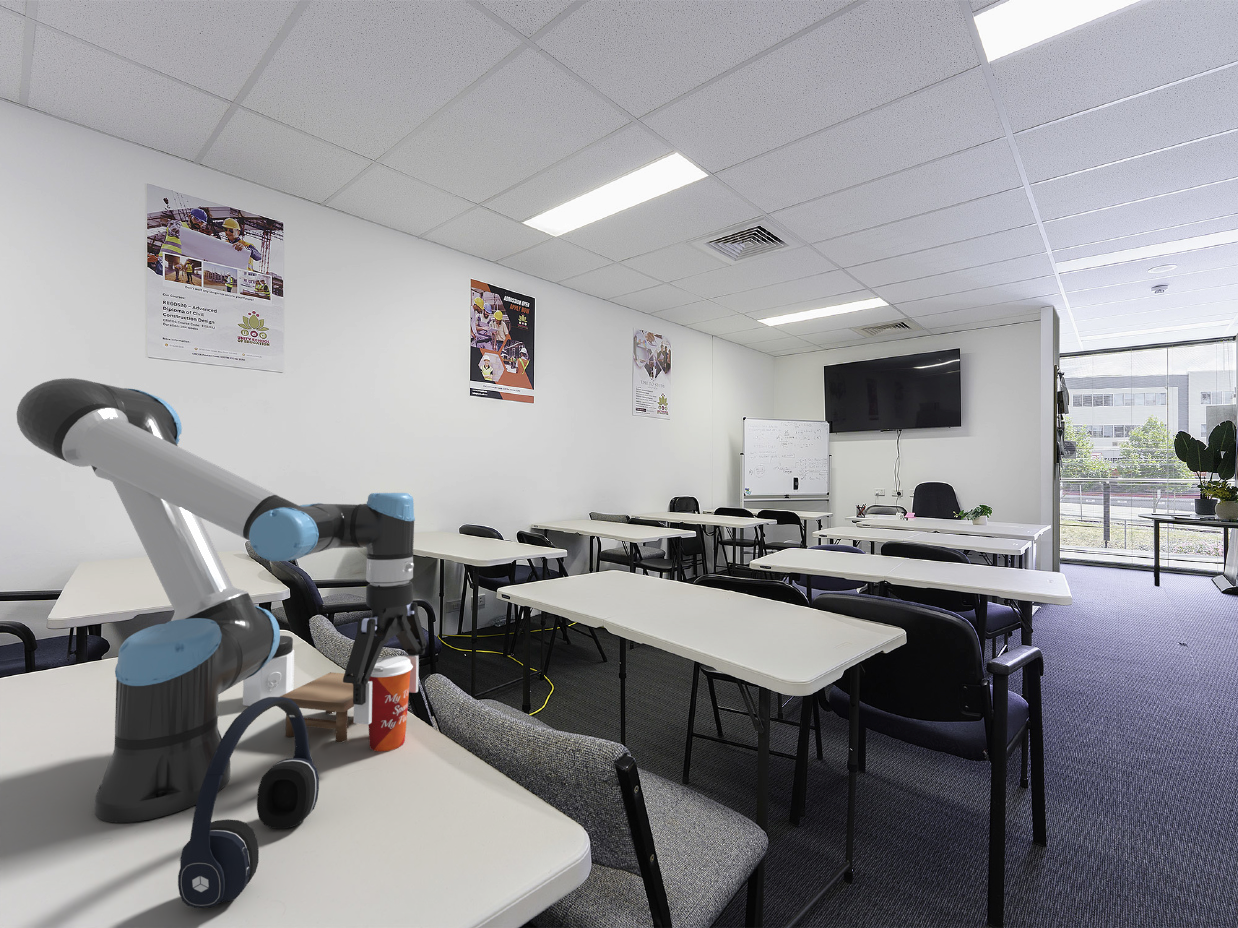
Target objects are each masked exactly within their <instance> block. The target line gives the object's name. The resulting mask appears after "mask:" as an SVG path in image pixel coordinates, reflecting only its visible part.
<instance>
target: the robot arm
mask: <svg viewBox="0 0 1238 928" xmlns="http://www.w3.org/2000/svg"><path fill="white" fill-rule="evenodd" d="M16 423H17V425H18V428H19V431H20V432H21V434H22V435H23V436H24V437H25V439H27V440H28V441H29V442H30V443H31V444H32V445H34V446H35V447H37V448H38V449H40V450H42V451H44V452H45V453H48V454H49V455H52V456H54V457H55V458H58V459H61V460H62V461H64V462H66V463H68V464H71V465H73V466H75V467H82V468H83V467H91V468H92V470H93V473H94V474H95V476H96V477H98V478H101V479H103V480H107V481H110V482H111V483H112V484H113V486H114V489H115V491H116V493H117V494H118V497H119V499H120V501H121V504H122V505H123V507H124V509H125V511H126V513H127V516H128V517H129V519H130V522H131V524H132V525H133V527H134V528H133V529H134V530H135V532H136V534H137V536H138V538H139V540H140V542H141V544H142V546H143V549H144V550H145V553H146V555H147V557H148V560H150V563H151V564H152V565H151V566H152V568H153V569H154V571H155V573H156V576H157V577H158V580H159V581H160V584H161V586H162V588H163V590H164V592H165V594H166V596H167V598H168V601H169V603H170V604H171V607H172V609H173V611H174V613H173V615H172V617H171V620H169V621H167V622H166V623H158V624H154V625H152V626H151V625H150V626H148V627H146V628H143V629H141V630H139V631H136V632H134V633H133V634H131V635H130V636H128V637H127V638H126V639H125V640H124V641H123V643H122V644H121V645H120V647H119V649H118V655H117V663H116V666H115V669H114V672H115V673H114V674H115V679H116V681H115V682H116V683H115V685H116V686H115V688H116V689H115V715H114V716H115V717H114V718H115V719H114V749H113V752H112V754H111V757H110V760H109V762H108V765H107V767H106V769H105V773H104V776H103V778H102V781H101V783H100V785H99V787H98V788H97V791H96V793H95V798H94V799H95V804H94V814H95V815H96V817H97V818H98V819H99V820H101V821H105V822H108V823H116V824H117V823H118V824H119V823H123V824H125V823H134V822H135V823H136V822H141V821H142V822H143V821H149V820H153V819H154V820H155V819H157V818H158V819H159V818H162V817H165V816H169V815H172V814H175V813H178V812H181V811H183V810H185V809H189V808H192V807H194V806H196V803H197V800H198V796H199V793H200V789H201V786H202V783H203V781H204V778H205V775H206V772H207V769H208V767H209V764H210V762H211V760H212V757H213V755H214V753H215V751H216V749H217V747H218V745H219V743H220V741H221V740H222V738H223V737H222V736H221V733H220V730H219V726H218V723H219V721H218V720H219V719H218V718H219V717H218V716H219V715H218V714H219V695H220V694H223V693H224V692H225V691H227V690H229V689H230V688H232V687H234V686H235V685H238V684H239V683H240V682H243V680H245V679H247V678H249V677H251V676H253V675H255V674H256V673H257V672H258V671H259V670H260V669H261V668H263V667H264V666H265V665H266V664H267V663H268V662H269V661H270V660H271V659H272V658H273V656H274V655H275V653H276V650H277V648H278V646H279V641H280V636H281V631H280V625H279V623H278V621H277V619H276V617H275V616H274V615H273V613H272V612H271V611H270V610H268V609H265V608H262V607H260V606H257V605H255V603H254V602H253V600H252V598H251V596H250V594H249V592H248V590H244V589H242V588H241V589H240V588H237V587H235V586H234V585H233V583H232V581H231V579H230V577H229V575H228V572H227V571H226V567H225V566H224V564H223V562H222V560H221V558H220V556H219V554H218V551H217V550H216V548H215V545H214V543H213V541H212V539H211V537H210V535H209V533H208V531H207V528H206V527H205V524H204V523H203V521H202V519H203V520H205V521H208V522H209V523H211V524H213V525H216V526H218V527H220V528H222V529H224V530H226V531H228V532H231V533H232V534H234V535H237V536H239V537H240V538H243V539H244V540H248V541H249V544H250V546H251V548H252V549H253V550H254V552H255V553H256V554H257V555H258V556H259V557H261V558H262V559H264V560H266V561H268V562H269V561H270V562H288V561H294V560H299V559H301V558H303V557H306V556H309V555H311V554H315V553H320V552H323V551H327V550H331V549H344V548H345V549H346V548H355V549H356V548H357V549H358V548H360V549H362V548H366V572H365V580H366V582H368V584H367V585H366V586H365V587H366V588H365V596H366V597H365V605H366V606H367V607H368V608H370V609H371V616H370V618H367V617H365V618H363V617H359V618H358V620H357V627H356V635H355V637H354V641H353V644H352V648H351V651H350V654H349V657H348V661H347V665H346V668H345V671H344V673H343V674H344V677H343V682H344V683H352V684H353V704H354V707H353V724H358V725H359V724H361V725H368V726H369V724H370V723H372V681H369V678H370V676H371V674H372V671H373V669H374V667H375V664H376V662H377V660H378V658H380V655H381V652H382V650H383V648H384V646H385V645H386V644H388V642H389V640H390V639H392V638H393V637H394V636H395V637H396V638H397V640H398V642H399V643H400V645H401V647H402V648H403V650H404V652H405V653H406V654H404V655H403V656H404V657H407V658H409V659H410V663H411V664H412V666H413V668H412V669H411V671H410V684H409V693H414V694H415V693H418V692H419V669H420V666H419V665H420V663H419V662H420V659H419V658H420V656H419V655H422V656H423V655H424V654H425V652H426V647H427V640H426V636H425V634H424V630H423V627H422V623H421V620H420V615H419V610H418V608H419V607H418V602H415V601H413V600H414V583H413V582H412V581H411V580H412V579H413V578H414V568H415V563H414V541H415V540H414V538H415V536H414V535H415V521H416V517H415V508H414V506H415V505H414V504H415V503H414V497H413V496H412V495H411V493H408V492H371V493H369V495H368V496H367V501H366V503H359V504H354V503H353V504H350V503H349V504H346V503H345V504H344V503H341V504H340V503H320V502H318V503H310V504H300V505H298V504H297V503H295V502H292V501H290V500H288V499H286V498H283V497H281V496H280V495H278V494H276V493H274V492H272V491H270V490H268V489H266V488H264V487H262V486H260V485H257V484H256V483H254V482H252V481H249V480H248V479H245V478H243V477H241V476H239V475H237V474H235V473H233V472H231V471H229V470H227V469H225V468H223V467H221V466H218V465H216V464H215V463H213V462H211V461H208V460H206V459H205V458H202V457H201V456H198V455H196V454H194V453H191V452H189V451H188V450H186V449H183V448H182V447H180V446H179V445H178V444H179V442H180V438H179V436H180V435H182V429H183V427H182V421H181V419H180V416H179V415H178V413H177V412H176V410H175V408H174V407H173V406H171V404H170V403H168V402H167V401H166V400H164V399H162V398H160V397H158V396H156V395H154V394H151V393H148V392H146V391H144V390H140V389H135V388H123V387H118V386H114V385H113V386H112V385H111V384H110V385H109V384H104V383H100V382H95V381H90V380H86V379H80V378H75V377H74V378H70V377H68V378H56V379H55V378H54V379H52V380H48V381H45V382H44V381H43V382H42V383H40V384H38V385H36V386H34V387H33V388H31V389H30V390H28V391H27V392H26V394H24V396H23V397H22V398H21V399H20V402H19V403H18V406H17V409H16ZM230 778H231V759H230V760H229V762H228V764H227V767H226V769H225V771H224V774H223V777H222V780H221V783H220V786H219V789H218V792H220V791H221V790H222V789H223V788H224V787H225V786H226V785H227V784H228V782H229V780H230Z"/></svg>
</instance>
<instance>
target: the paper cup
mask: <svg viewBox="0 0 1238 928" xmlns="http://www.w3.org/2000/svg"><path fill="white" fill-rule="evenodd" d="M412 668H413V666H412V664H411V663H410V659H409V658H407V657H404V655H388V656H381V657H380V656H379V657H378V660H377V662H376V664H375V667H374V669H373V671H372V674H371V676H370V678H369V681H372V723H370V724H369V725H368V742H369V748H370V750H372V751H374V752H381V753H382V752H389V751H393V750H396V749H399V748H400V747H402V746H403V745H404V744H405V741H406V731H407V720H408V708H409V693H410V692H409V684H410V671H411V669H412Z"/></svg>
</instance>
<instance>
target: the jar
mask: <svg viewBox="0 0 1238 928" xmlns="http://www.w3.org/2000/svg"><path fill="white" fill-rule="evenodd" d="M293 643H294V639H293V637H292V636H289V635H280V641H279V646H278V648H277V650H276V653H275V655H274V656H273V658H272V659H271V660H270V661H269V662H268V663H267V664H266V665H265V666H264V667H263V668H261V669H260V670H259V671H258V672H257V673H256V674H255V675H253V676H251V677H249V678H247V679H245V680H242V682H243V683H242V705H243V706H244V707H249V706H250V705H252V704H253V703H255V702H257V701H259V700H261V699H264V698H267V697H280V696H282V695H284V694H286V693H288V692H290V691H292V690H294V683H295V682H294V679H295V678H294V677H295V675H294V674H295V649H294V645H293Z"/></svg>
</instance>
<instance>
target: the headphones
mask: <svg viewBox="0 0 1238 928" xmlns="http://www.w3.org/2000/svg"><path fill="white" fill-rule="evenodd" d="M274 707H278V708H279V709H280V710H282V711H284V713H285V715H286V714H287V715H288V717H289V719H290V721H291V724H292V728H293V732H294V736H293V737H294V753H293V756H292V758H285V759H283V760H282V759H281V760H280V761H278V762H277V763H275V764H273V765H272V766H271V767H270V768H269V769H268V770H267V771H266V772H265V773H264V775H262V776H261V779H260V782H259V785H258V789H257V796H256V811H257V815H258V819H259V820H260V822H261V823H262V824H263V825H264V826H266V827H269V828H271V829H272V828H273V829H288V828H292V827H294V826H298V825H299V824H300V823H302V822H303V821H304V820H305V819H306V818H307V817H308V816H309V815H310V814H311V813H312V812H313V811H314V810H315V807H316V804H317V801H318V799H319V798H318V796H319V790H320V778H319V773H318V768H317V767H316V766H315V764H314V760H313V757H312V755H311V750H310V743H309V742H310V741H309V733H308V728H307V726H306V724H305V720H304V718H303V717H304V716H303V713H302V711H301V708H299V707H298V705H297V704H296V703H295V702H294V701H292V700H291V699H290V698H286V697H267V698H264V699H261V700H259V701H257V702H255V703H253V704H252V705H250V706H247V707H246V708H245V709H243V711H241V713H240V714H238V715H237V716H236V717H235V718H234V720H233V721H232V722H231V724H230V725H229V727H228V728H227V729H226V731H225V733H224V735H223V736H222V737H221V738H222V740H221V741H220V743H219V745H218V747H217V749H216V751H215V753H214V755H213V757H212V760H211V762H210V764H209V767H208V769H207V772H206V775H205V778H204V781H203V783H202V786H201V789H200V793H199V796H198V800H197V803H196V805H195V809H194V812H193V818H192V825H191V831H190V838H189V841H188V842H186V844H184V846H183V847H182V851H181V853H180V858H179V861H180V865H179V867H180V868H179V871H178V874H177V875H178V876H177V886H178V892H179V895H180V898H181V901H182V902H183V903H184V904H186V905H187V906H188V907H191V908H194V909H195V908H196V909H205V908H207V909H208V908H212V907H215V906H218V905H219V903H228V902H230V901H233V900H235V899H237V898H238V897H239V896H240V895H241V893H242V892H243V891H244V890H245V888H246V887H247V886H248V884H250V882H251V880H252V879H253V877H254V876H255V873H256V872H257V869H258V865H259V858H260V857H259V856H260V855H259V854H260V852H259V845H258V838H257V836H256V832H255V831H254V829H253V827H252V826H250V825H249V824H248V823H247V822H245V821H242V820H239V819H231V818H230V819H218V820H213V821H212V818H213V812H214V807H215V804H216V803H215V802H216V799H217V795H218V792H219V791H218V789H219V786H220V783H221V780H222V777H223V774H224V771H225V769H226V767H227V764H228V762H229V760H230V761H231V757H232V755H233V754H234V752H235V750H236V747H237V745H238V744H239V742H240V741H241V738H242V736H243V734H244V733H245V732H246V730H247V729H248V728H249V726H250V725H251V724H252V723H253V722H255V720H256V719H257V718H258V717H260V716H261V715H262V714H263V713H265V712H267V711H269V710H270V709H271V708H274Z"/></svg>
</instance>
